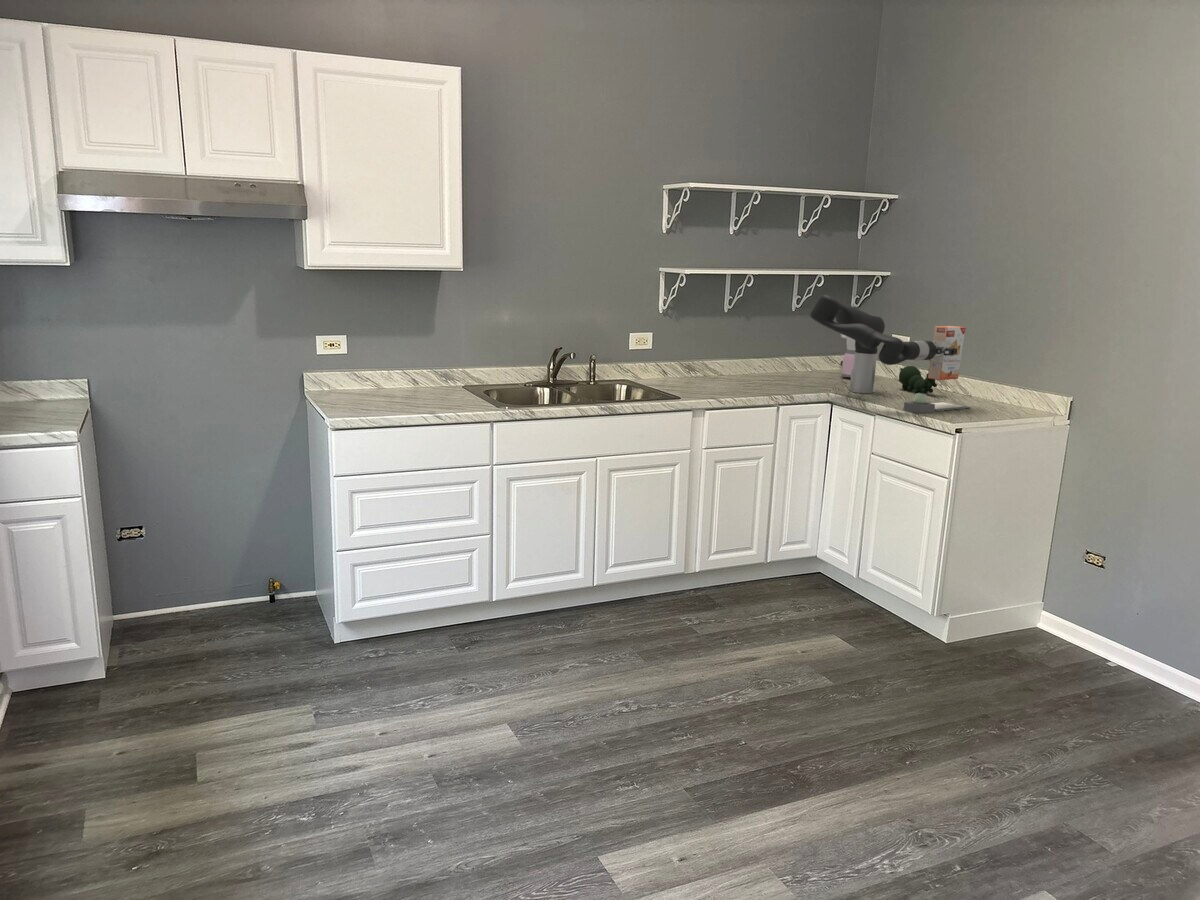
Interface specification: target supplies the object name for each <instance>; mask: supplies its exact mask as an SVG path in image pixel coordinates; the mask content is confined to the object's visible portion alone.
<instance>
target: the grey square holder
mask: <svg viewBox="0 0 1200 900" xmlns="http://www.w3.org/2000/svg"><path fill="white" fill-rule="evenodd" d="M934 409H935V404H931V403H930V402H926V403H925V404H923V405H920V404H915V403H914V400H912V401H905V402H904V405H903V410H904V411H907V410H908V411H907V412H912V411H913V413H917V412H918V414H925V413H935V411H934Z"/></svg>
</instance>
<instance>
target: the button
mask: <svg viewBox="0 0 1200 900" xmlns="http://www.w3.org/2000/svg"><path fill="white" fill-rule="evenodd" d="M913 401H914V403H915V404H920V405H923V404H925V403H927V402H926V401H927V393H926V394H925V393H919V392H918V393H916V394H915V393H914V400H913Z"/></svg>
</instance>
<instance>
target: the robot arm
mask: <svg viewBox="0 0 1200 900" xmlns="http://www.w3.org/2000/svg"><path fill="white" fill-rule="evenodd" d="M809 316H810V317H811V319H812V320H813V321H814V322H816V323H818V324H820V325H822V326H824V327H826V328H828V329H830V330H832V331H834V332H837V333H839V334H840V333H841V334H843V335H845V336H848V337H850V338H852V339H854V340H855V358H854V368H853V369H852V370H851V377H850V381H849V391H850V392H853V393H857V394H873V393H874V387H875V385H874V384H875V377H876V367H877V358H878V360H879V361H880V362H881V363H882V364H884V365H886V366H892V365H894V366H895V365H896V364H900V363H902V362H905V361H909V360H910V361H912V360H913V361H929V360H930V359H932V358H933V357H934V356H939V355H943V354H941V353H944V355H945V356H946V355H954V354H957V348H947V347H946V349H944V350H942V348H944V347H941V346H935V344H934V343H933V341H932V340H915V341H912V340H911V341H903V340H902V339H901V338H898V337H896V336H891V335H888V334H884V332H885V330H886V329H885V328H886V326H885V321H884V319H883V318H882V317H881V316H878V315H877V316H875V315H871V314H869V313H867V312H865V311H863V310H861V309H859V308H858V307H855V306H852V305H849V304H847V303H844V302H842V301H841V300H839V299H837V298H835V297H833V296H831V295H829V294H822V295H821V296H819V298H818V299H817V301H816V302H815V305H814V306H813V307H812V310H811V312H810V313H809ZM834 320H836V322H835V321H834ZM881 343H883V345H882V347H881V349H880V351H879V353H878V347H879V345H880V344H881Z"/></svg>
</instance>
